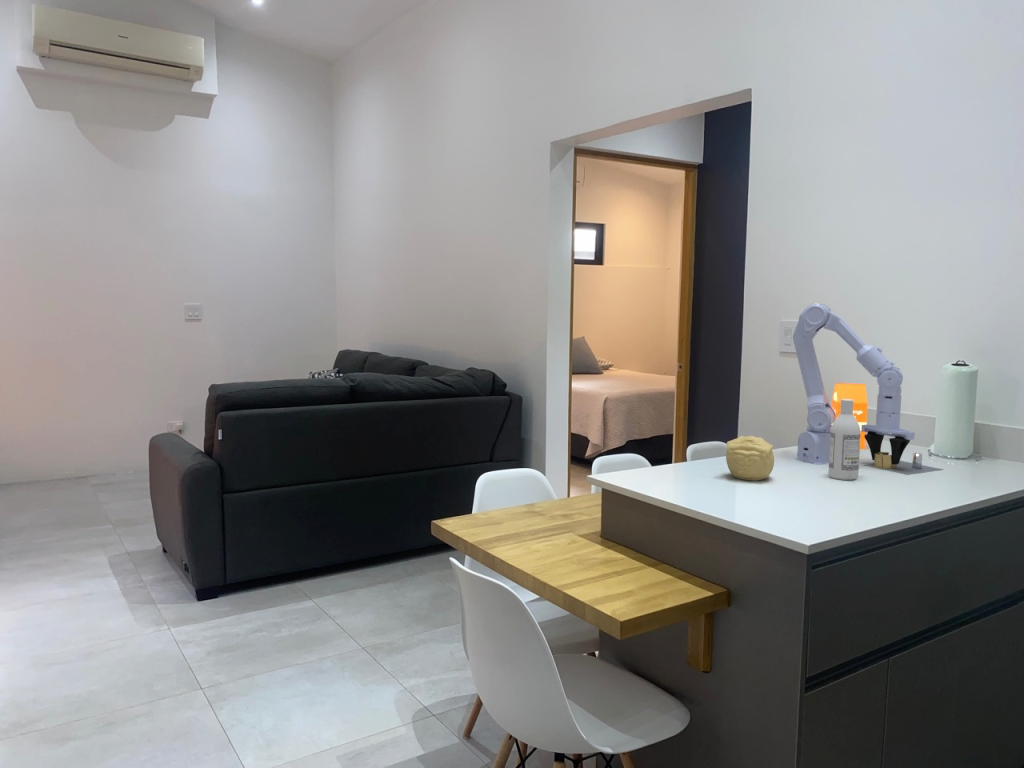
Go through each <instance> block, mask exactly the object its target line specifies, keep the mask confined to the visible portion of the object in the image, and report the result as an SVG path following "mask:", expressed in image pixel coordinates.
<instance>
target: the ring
mask: <svg viewBox="0 0 1024 768" xmlns="http://www.w3.org/2000/svg"><path fill="white" fill-rule="evenodd" d="M873 464H874V466H875V467H878V468H883V469H896V468H897V464H895V465H893V464H892V463H891V454H890V453H889V452H888V451H881V452H875V453H874V460H873ZM878 468H877V469H878Z"/></svg>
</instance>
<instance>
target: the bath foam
mask: <svg viewBox="0 0 1024 768" xmlns="http://www.w3.org/2000/svg"><path fill="white" fill-rule="evenodd" d="M853 403H854V400H852V399H841V408H840V414H839V416H838V417H837V418H836V420H835V421H834V423H833V424H832V427H831V433H830V452H829V463H828V477H830V478H832V479H835V480H840V481H841V480H842V481H855V480H857V479H858V478H859V471H860V470H859V469H860V467H859V466H860V453H861V452H860V451H861V450H860V436H861V434H860V426H859V424H858V422H857V420H856V418H855V417H854V415H853Z"/></svg>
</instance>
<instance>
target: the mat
mask: <svg viewBox="0 0 1024 768" xmlns="http://www.w3.org/2000/svg"><path fill="white" fill-rule="evenodd" d="M863 466H865V467H870V468H875V469H878V470H883V471H888V472H891V473H897V474H902V475H906V476H910V475H918V474H922V473H930V472H931V473H932V472H939V471H944V470H945V469H943V468H938V467H933V466H930V465H929V466H928V465H924V464H922V468H921V469H913V468H912V462H909V461H905V460H904V461H903V460H900V461H899V464H897V468H896V469H883V468H878V467H875V466H874V463H870V464H869V463H868V464H864V465H863Z"/></svg>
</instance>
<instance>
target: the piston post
mask: <svg viewBox="0 0 1024 768" xmlns="http://www.w3.org/2000/svg"><path fill="white" fill-rule="evenodd" d="M922 462H923V453H921V452H913V453H912V462H911V463H912V468H913V469H921V468H922V465H923V463H922Z"/></svg>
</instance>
